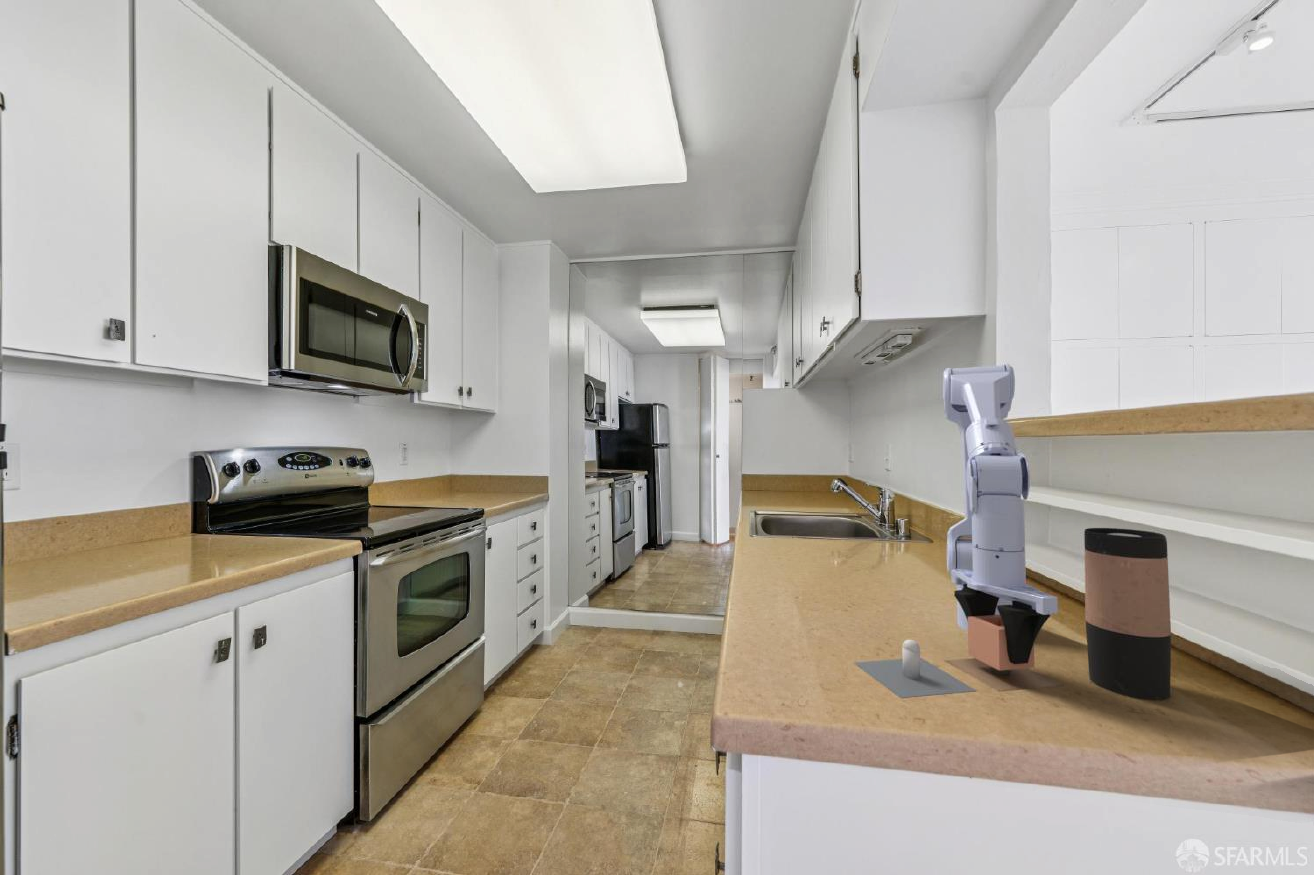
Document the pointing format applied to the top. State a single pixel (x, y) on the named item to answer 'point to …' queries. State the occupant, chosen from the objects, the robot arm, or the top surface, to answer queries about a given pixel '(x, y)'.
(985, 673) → the stand
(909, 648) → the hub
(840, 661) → the top surface
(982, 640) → the collar
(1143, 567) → the travel mug
